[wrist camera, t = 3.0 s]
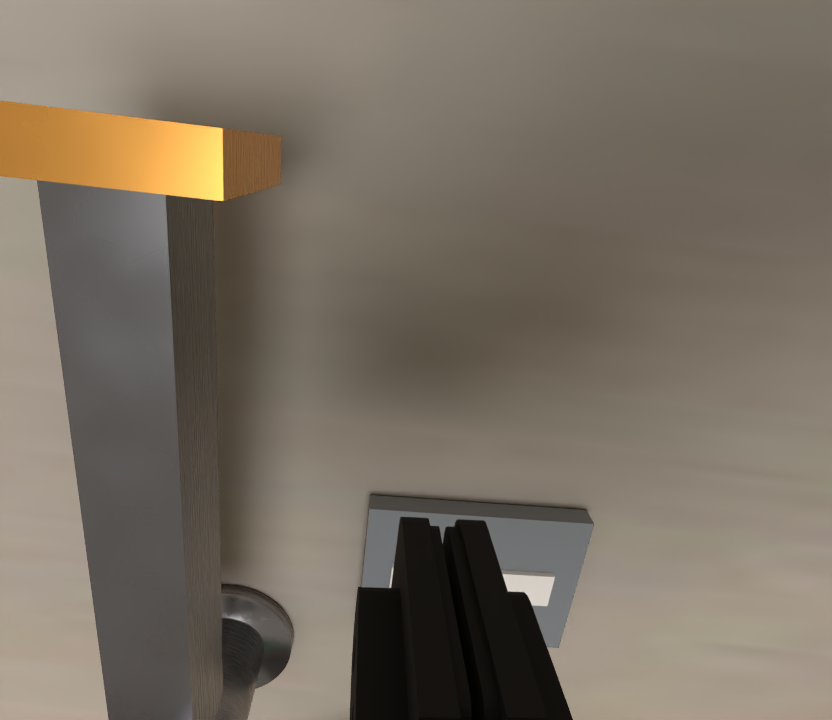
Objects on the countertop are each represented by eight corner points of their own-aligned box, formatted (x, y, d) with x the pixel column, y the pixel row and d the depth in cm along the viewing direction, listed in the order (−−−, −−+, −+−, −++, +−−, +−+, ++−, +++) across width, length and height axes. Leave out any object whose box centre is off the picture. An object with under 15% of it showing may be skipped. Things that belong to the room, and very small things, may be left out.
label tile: (586, 509, 20) (596, 527, 19) (552, 631, 22) (560, 652, 21) (370, 494, 19) (369, 512, 18) (357, 621, 21) (356, 642, 20)
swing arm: (269, 665, 17) (232, 823, 13) (129, 659, 17) (46, 820, 13) (281, 136, 12) (222, 127, 8) (70, 110, 11) (-112, 86, 7)
